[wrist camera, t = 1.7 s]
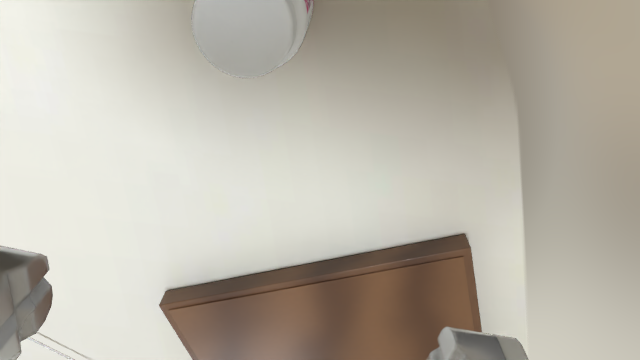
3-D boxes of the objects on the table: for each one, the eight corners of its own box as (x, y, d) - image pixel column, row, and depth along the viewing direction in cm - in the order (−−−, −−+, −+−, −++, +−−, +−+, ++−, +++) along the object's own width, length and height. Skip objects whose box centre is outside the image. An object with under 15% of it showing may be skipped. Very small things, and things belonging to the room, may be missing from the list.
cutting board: (464, 233, 31) (471, 248, 30) (482, 358, 38) (487, 375, 37) (165, 290, 35) (157, 306, 34) (228, 395, 42) (224, 412, 40)
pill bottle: (330, -16, 24) (327, 7, 16) (287, 59, 26) (268, 110, 18) (252, -68, 22) (211, -69, 15) (214, 15, 24) (162, 49, 17)
